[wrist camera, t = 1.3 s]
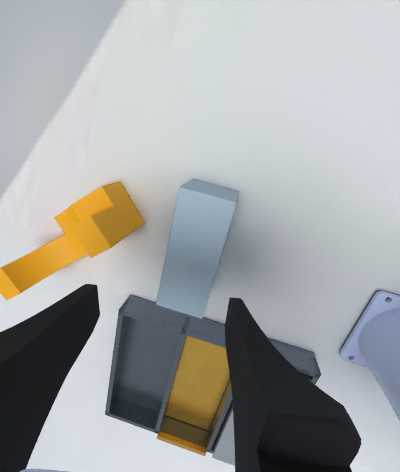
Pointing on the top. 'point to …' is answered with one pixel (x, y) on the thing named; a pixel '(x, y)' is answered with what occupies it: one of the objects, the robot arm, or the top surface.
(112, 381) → the grey compartment tray
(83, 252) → the pipe clamp
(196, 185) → the tall blue-grey block
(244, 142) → the top surface
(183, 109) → the top surface
